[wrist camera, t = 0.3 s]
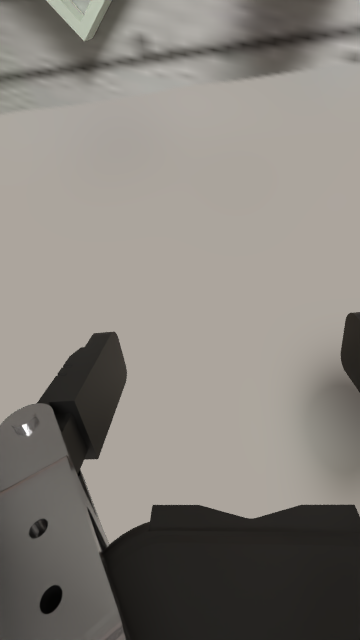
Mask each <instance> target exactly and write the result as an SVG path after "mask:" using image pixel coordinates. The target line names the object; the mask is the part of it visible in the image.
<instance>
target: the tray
mask: <svg viewBox="0 0 360 640" xmlns="http://www.w3.org/2000/svg"><path fill="white" fill-rule="evenodd" d="M46 1H47V2H48V3H49V4H50V5H51V6H52V7H53V8H54V9H55V11H56V12H57V13H58V14H59V15H60V16H61V17H62V18H63V19H64V20H65V21H66V22H67V23H68V24H69V26H70V27H71V28H72V29H73V30H74V31H75V32H76V33H77V34H78V35H79V36H80V37H81V38H82V39H83V41H87V40H90V39H92V38H93V37H94V35H95V33H96V31H97V29H98V27H99V25H100V23H101V21H102V19H103V17H104V15H105V13H106V11H107V9H108V7H109V5H110V3H111V1H112V0H91V1H90V3H89V5H88V7H87V9H86V12H85V14H83V13H82V12H81V11H80V10H79V9H78V7H77V6H76V5H75V4H74V3H73V2H72V1H71V0H46Z"/></svg>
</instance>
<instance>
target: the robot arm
mask: <svg viewBox="0 0 360 640" xmlns="http://www.w3.org/2000/svg"><path fill="white" fill-rule="evenodd" d="M341 361H342V365H343V368H344V370H345V372H346V373H347V375H348V376H349V378H350V379H351V380H352V382H353V383H354V385H355V386H356V388H357V389H358V391H359V392H360V312H356V313H350V314H348V315H347V317H346V321H345V328H344V335H343V341H342V348H341ZM126 376H127V371H126V365H125V362H124V358H123V354H122V350H121V347H120V343H119V339H118V336H117V334H116V333H115V332H105V333H95V334H93V335H92V337H91V338H90V340H89V341H88V343H87V344H86V346H85V347H83V348H80V349H79V350H77V351H76V352H75V353H73V354H72V355H71V356H70V357H69V358H68V360H67V361H66V363H65V364H64V366H63V368H61V370H60V371H59V373H58V376H56V377H55V378H54V380H53V381H52V383H51V384H50V385H49V387H48V388H47V390H46V391H45V393H44V394H43V395H42V397H41V398H40V400H39V401H38V402H37V404H32V405H28V406H25V407H23V408H21V409H19V410H17V411H15V412H14V413H13V414H11V415H10V416H9V417H7V418H6V419H5V420H4V421H3V422H2V424H1V425H0V640H360V517H359V514H358V512H357V509H356V508H355V505H300V506H296V507H293V508H289V509H286V510H282V511H279V512H275V513H272V514H269V515H265V516H262V517H258V518H254V519H248V518H244V517H240V516H236V515H233V514H229V513H225V512H222V511H218V510H215V509H211V508H208V507H204V506H200V505H153V507H152V512H151V520H150V522H148V523H144V524H142V525H140V526H137V527H135V528H133V529H132V530H130V531H128V532H126V533H125V534H123V535H121V536H120V537H119V538H117V539H116V540H115V541H113V542H112V543H111V544H110V545H109V542H108V540H107V537H106V535H105V533H104V531H103V528H102V525H101V523H100V520H99V518H98V515H97V512H96V509H95V507H94V504H93V501H92V499H91V496H90V493H89V490H88V488H87V485H86V482H85V480H84V477H83V474H82V472H81V470H80V468H81V466H82V463H83V460H84V459H98V458H99V455H100V452H101V449H102V447H103V444H104V441H105V438H106V435H107V432H108V430H109V427H110V424H111V422H112V418H113V416H114V413H115V410H116V408H117V405H118V402H119V399H120V397H121V394H122V391H123V388H124V385H125V383H126Z"/></svg>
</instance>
